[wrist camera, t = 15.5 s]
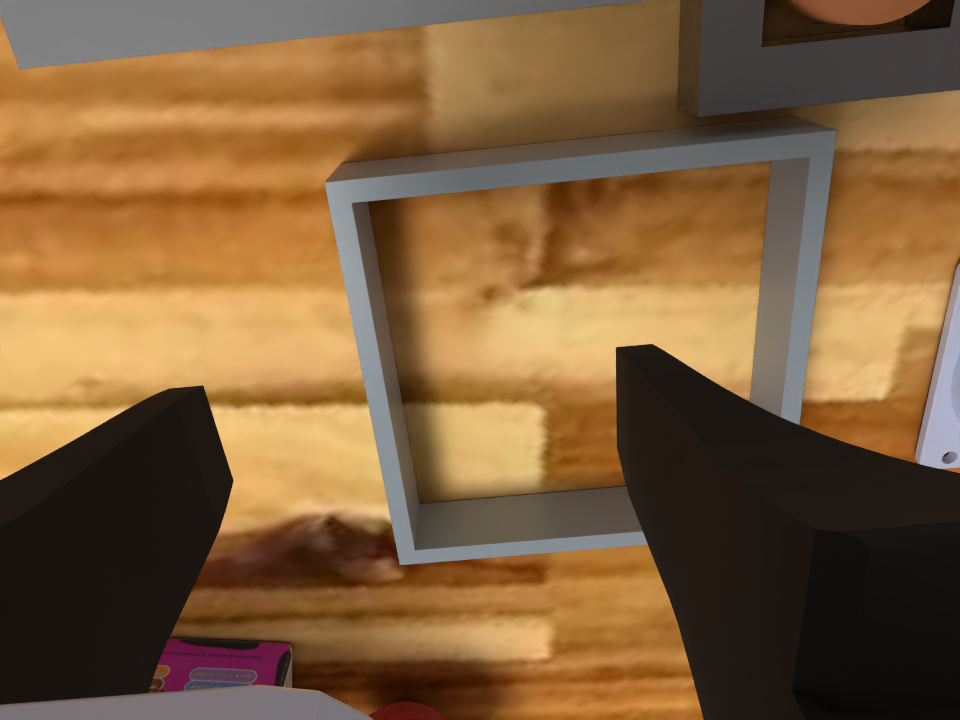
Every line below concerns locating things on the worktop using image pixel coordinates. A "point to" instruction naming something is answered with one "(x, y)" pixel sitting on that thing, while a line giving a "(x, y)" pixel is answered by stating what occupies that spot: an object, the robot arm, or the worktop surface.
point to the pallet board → (223, 23)
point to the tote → (785, 142)
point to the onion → (407, 712)
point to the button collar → (809, 59)
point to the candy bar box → (221, 665)
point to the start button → (850, 10)
